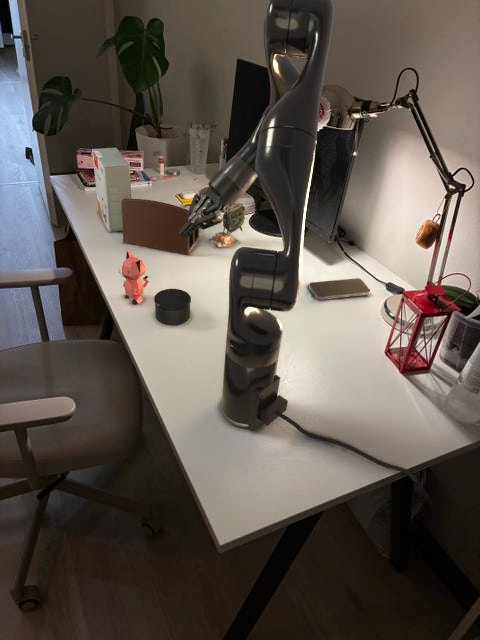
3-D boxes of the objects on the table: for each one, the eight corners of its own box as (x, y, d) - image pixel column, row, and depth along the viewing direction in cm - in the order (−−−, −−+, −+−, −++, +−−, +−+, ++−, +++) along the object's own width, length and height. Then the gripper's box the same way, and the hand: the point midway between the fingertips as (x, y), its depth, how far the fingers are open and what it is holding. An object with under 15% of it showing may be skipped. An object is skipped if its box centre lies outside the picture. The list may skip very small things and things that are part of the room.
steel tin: (197, 316, 118) (198, 299, 115) (171, 330, 113) (170, 313, 110) (174, 301, 122) (174, 284, 120) (147, 314, 117) (146, 297, 114)
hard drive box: (97, 211, 160) (91, 148, 149) (121, 209, 163) (117, 147, 152) (108, 232, 149) (103, 166, 137) (134, 229, 152) (130, 164, 140)
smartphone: (308, 282, 133) (360, 277, 136) (307, 286, 134) (359, 281, 137) (317, 297, 127) (372, 292, 130) (317, 301, 128) (371, 295, 131)
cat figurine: (115, 295, 122) (112, 251, 115) (140, 287, 126) (138, 244, 119) (130, 309, 118) (127, 265, 111) (155, 300, 122) (154, 257, 115)
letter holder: (188, 255, 141) (189, 208, 133) (122, 243, 144) (119, 196, 136) (199, 240, 149) (200, 195, 141) (136, 229, 152) (134, 183, 144)
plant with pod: (249, 245, 149) (256, 179, 138) (214, 250, 145) (218, 183, 133) (238, 233, 155) (243, 169, 144) (204, 238, 151) (206, 172, 139)
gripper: (211, 160, 117) (161, 215, 120) (235, 180, 108) (181, 239, 110) (230, 180, 123) (182, 232, 125) (255, 201, 113) (202, 257, 115)
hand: (182, 235), depth 117 cm, fingers closed
